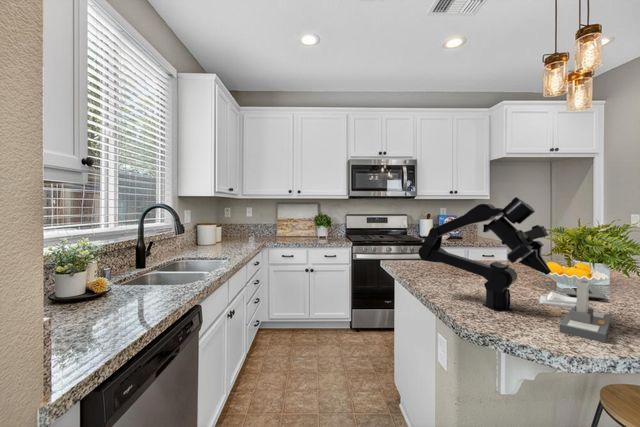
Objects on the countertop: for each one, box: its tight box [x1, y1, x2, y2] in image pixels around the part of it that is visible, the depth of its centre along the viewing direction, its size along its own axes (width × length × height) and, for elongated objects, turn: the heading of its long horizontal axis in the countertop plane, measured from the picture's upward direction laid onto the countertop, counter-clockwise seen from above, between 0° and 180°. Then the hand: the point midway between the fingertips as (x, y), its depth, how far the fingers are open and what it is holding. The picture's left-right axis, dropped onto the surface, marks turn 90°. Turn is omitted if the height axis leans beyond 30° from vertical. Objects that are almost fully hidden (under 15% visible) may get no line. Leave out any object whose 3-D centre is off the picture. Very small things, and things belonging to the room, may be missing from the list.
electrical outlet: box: [563, 288, 606, 301], centre depth 117 cm, size 13×10×2 cm
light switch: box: [539, 291, 577, 309], centre depth 108 cm, size 11×4×13 cm
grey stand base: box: [559, 305, 613, 344], centre depth 86 cm, size 9×20×4 cm, turn 133°
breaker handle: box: [575, 279, 591, 313], centre depth 87 cm, size 2×5×8 cm, turn 133°
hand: (549, 273), depth 92 cm, fingers closed
